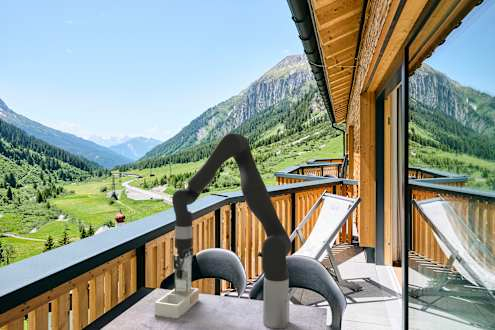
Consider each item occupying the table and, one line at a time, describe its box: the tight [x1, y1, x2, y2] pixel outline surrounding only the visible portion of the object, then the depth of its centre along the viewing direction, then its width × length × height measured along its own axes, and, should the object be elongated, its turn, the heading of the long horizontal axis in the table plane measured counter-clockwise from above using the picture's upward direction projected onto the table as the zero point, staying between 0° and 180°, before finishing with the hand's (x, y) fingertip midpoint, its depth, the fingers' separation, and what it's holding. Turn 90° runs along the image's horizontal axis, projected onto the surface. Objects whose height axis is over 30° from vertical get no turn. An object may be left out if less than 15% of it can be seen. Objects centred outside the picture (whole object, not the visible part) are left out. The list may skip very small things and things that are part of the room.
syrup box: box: [174, 255, 192, 293], centre depth 152 cm, size 6×6×14 cm
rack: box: [154, 287, 200, 319], centre depth 148 cm, size 10×19×5 cm, turn 163°
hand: (183, 275), depth 152 cm, fingers closed on syrup box, 6 cm apart
